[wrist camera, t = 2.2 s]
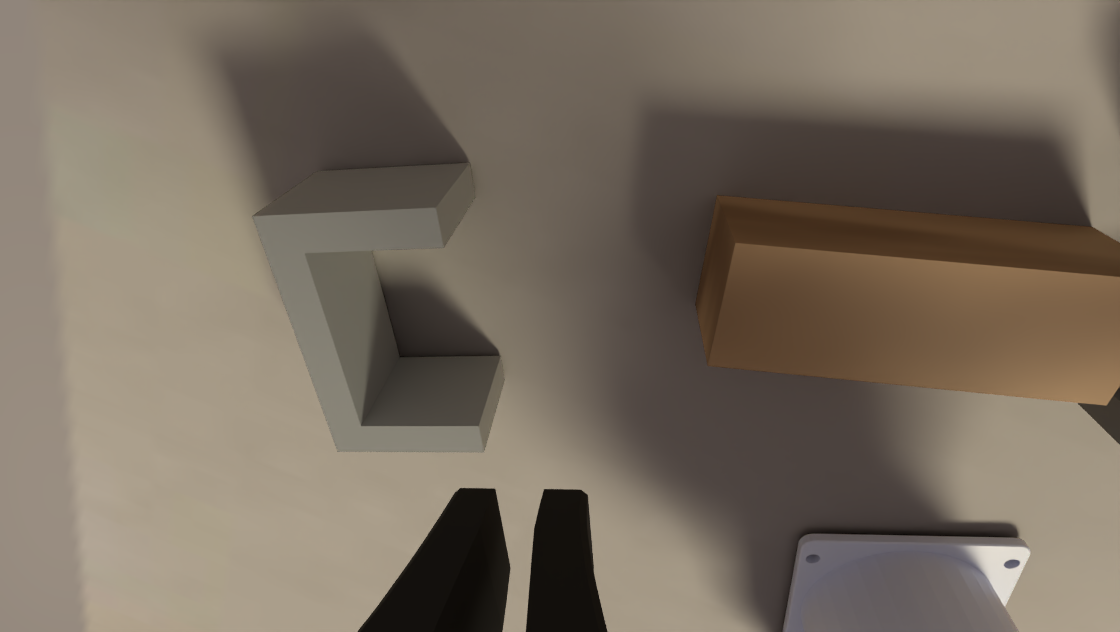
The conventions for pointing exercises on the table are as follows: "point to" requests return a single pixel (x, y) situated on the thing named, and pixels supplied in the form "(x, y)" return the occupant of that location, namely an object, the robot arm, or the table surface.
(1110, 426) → the fixed cap
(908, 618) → the robot arm
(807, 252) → the brown wooden block
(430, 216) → the cap
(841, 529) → the table surface
